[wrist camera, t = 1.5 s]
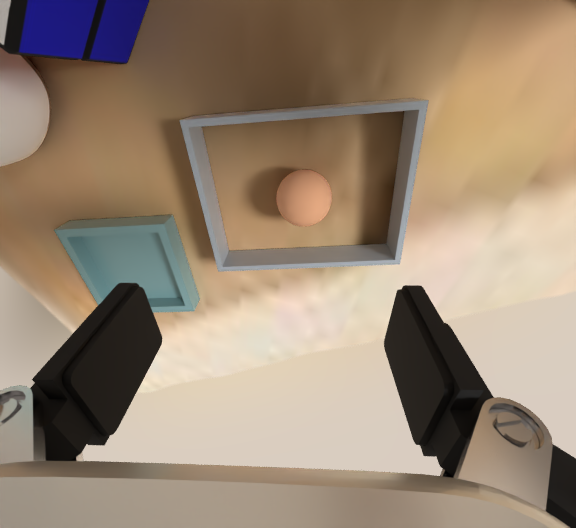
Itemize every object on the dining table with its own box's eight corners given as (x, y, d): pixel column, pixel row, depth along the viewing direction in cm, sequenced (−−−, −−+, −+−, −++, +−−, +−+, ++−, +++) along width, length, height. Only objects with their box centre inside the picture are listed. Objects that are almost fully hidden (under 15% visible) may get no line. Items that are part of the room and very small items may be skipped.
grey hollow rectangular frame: (413, 97, 21) (428, 100, 18) (390, 247, 28) (399, 264, 26) (193, 115, 22) (179, 120, 20) (225, 255, 29) (218, 271, 27)
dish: (172, 214, 27) (163, 224, 25) (199, 298, 33) (194, 311, 31) (69, 220, 28) (53, 230, 26) (113, 301, 33) (103, 313, 32)
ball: (329, 161, 24) (335, 177, 20) (329, 212, 26) (334, 234, 22) (275, 164, 24) (271, 180, 20) (280, 214, 26) (277, 237, 23)
